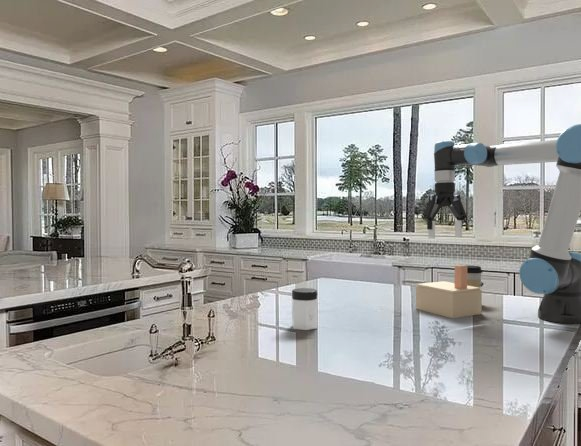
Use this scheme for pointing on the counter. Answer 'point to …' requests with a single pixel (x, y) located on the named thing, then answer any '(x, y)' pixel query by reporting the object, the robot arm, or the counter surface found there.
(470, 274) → the coffee cup
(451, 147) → the robot arm
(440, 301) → the carton
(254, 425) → the counter surface
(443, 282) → the lid flap
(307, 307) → the jar
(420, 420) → the counter surface
